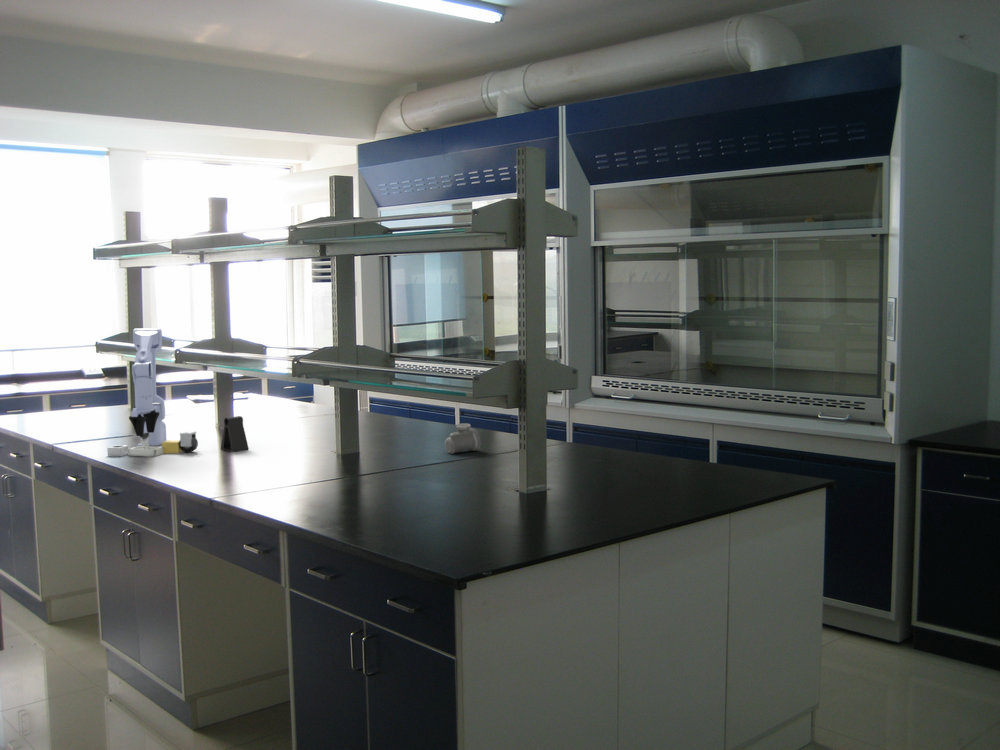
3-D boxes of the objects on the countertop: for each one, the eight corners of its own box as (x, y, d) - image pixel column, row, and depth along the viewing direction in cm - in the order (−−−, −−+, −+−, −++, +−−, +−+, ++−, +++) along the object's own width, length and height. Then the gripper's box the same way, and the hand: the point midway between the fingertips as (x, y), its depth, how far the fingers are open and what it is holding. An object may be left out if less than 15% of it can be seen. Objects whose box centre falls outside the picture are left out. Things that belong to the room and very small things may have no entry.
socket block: (115, 453, 323) (115, 445, 322) (128, 453, 322) (128, 445, 322) (107, 455, 318) (107, 447, 318) (121, 456, 317) (120, 447, 317)
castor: (183, 450, 327) (182, 431, 326) (199, 451, 326) (198, 431, 325) (178, 453, 322) (177, 433, 322) (193, 453, 322) (193, 433, 321)
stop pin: (143, 452, 321) (142, 432, 321) (151, 452, 321) (150, 432, 320) (138, 453, 318) (137, 434, 318) (147, 453, 318) (146, 434, 317)
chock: (167, 451, 327) (166, 440, 327) (183, 451, 327) (182, 440, 326) (162, 453, 323) (161, 442, 323) (178, 453, 323) (177, 442, 322)
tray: (137, 452, 323) (137, 446, 323) (163, 453, 322) (163, 446, 322) (128, 455, 317) (128, 449, 317) (155, 456, 316) (155, 449, 316)
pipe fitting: (469, 447, 328) (467, 420, 325) (482, 452, 321) (480, 424, 319) (442, 454, 321) (440, 427, 318) (454, 459, 314) (452, 431, 312)
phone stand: (220, 449, 330) (219, 416, 329) (234, 447, 334) (233, 415, 333) (234, 452, 324) (233, 419, 323) (248, 449, 328) (247, 417, 327)
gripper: (143, 393, 325) (145, 430, 327) (122, 398, 311) (123, 437, 312) (161, 393, 325) (163, 431, 326) (141, 398, 310) (143, 437, 312)
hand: (145, 434), depth 319 cm, fingers open, 7 cm apart
